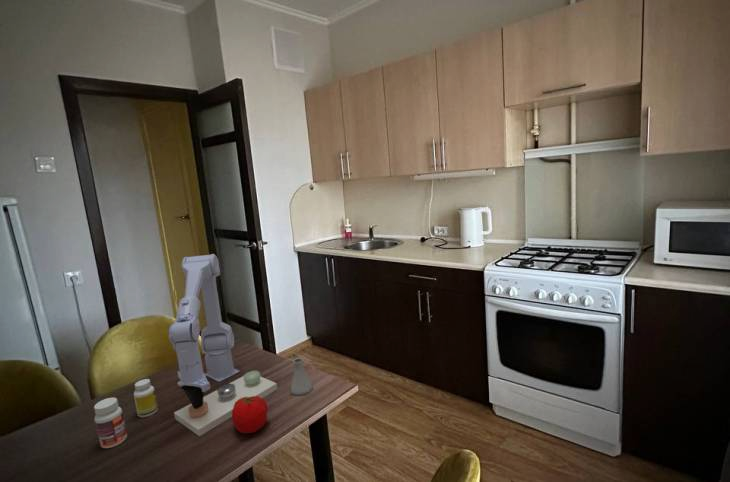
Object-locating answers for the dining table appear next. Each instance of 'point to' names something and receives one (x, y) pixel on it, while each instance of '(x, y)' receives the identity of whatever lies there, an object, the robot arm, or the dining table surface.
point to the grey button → (226, 390)
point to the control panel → (223, 405)
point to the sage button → (251, 377)
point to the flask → (300, 379)
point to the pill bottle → (110, 423)
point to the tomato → (249, 414)
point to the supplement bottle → (145, 398)
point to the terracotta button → (198, 410)
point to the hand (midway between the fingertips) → (198, 406)
